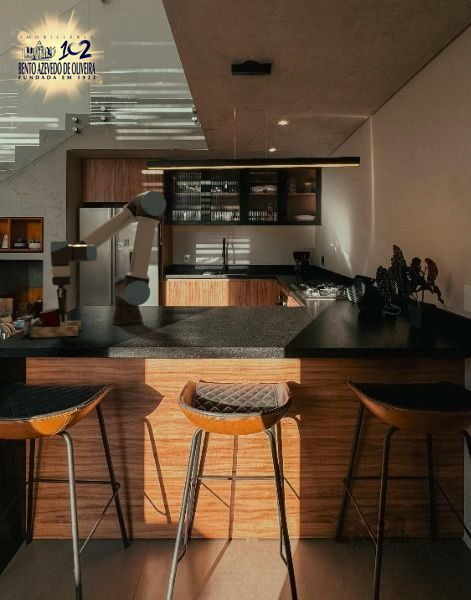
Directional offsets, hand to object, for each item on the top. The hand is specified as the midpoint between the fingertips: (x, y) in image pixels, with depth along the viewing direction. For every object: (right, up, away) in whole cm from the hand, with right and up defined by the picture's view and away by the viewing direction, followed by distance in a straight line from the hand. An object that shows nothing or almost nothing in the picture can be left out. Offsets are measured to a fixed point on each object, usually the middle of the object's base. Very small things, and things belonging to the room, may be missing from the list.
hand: (63, 328), depth 219 cm
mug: (-5, -2, 0) cm, 5 cm away
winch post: (-15, -2, -3) cm, 15 cm away
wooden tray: (-2, -2, 0) cm, 3 cm away
